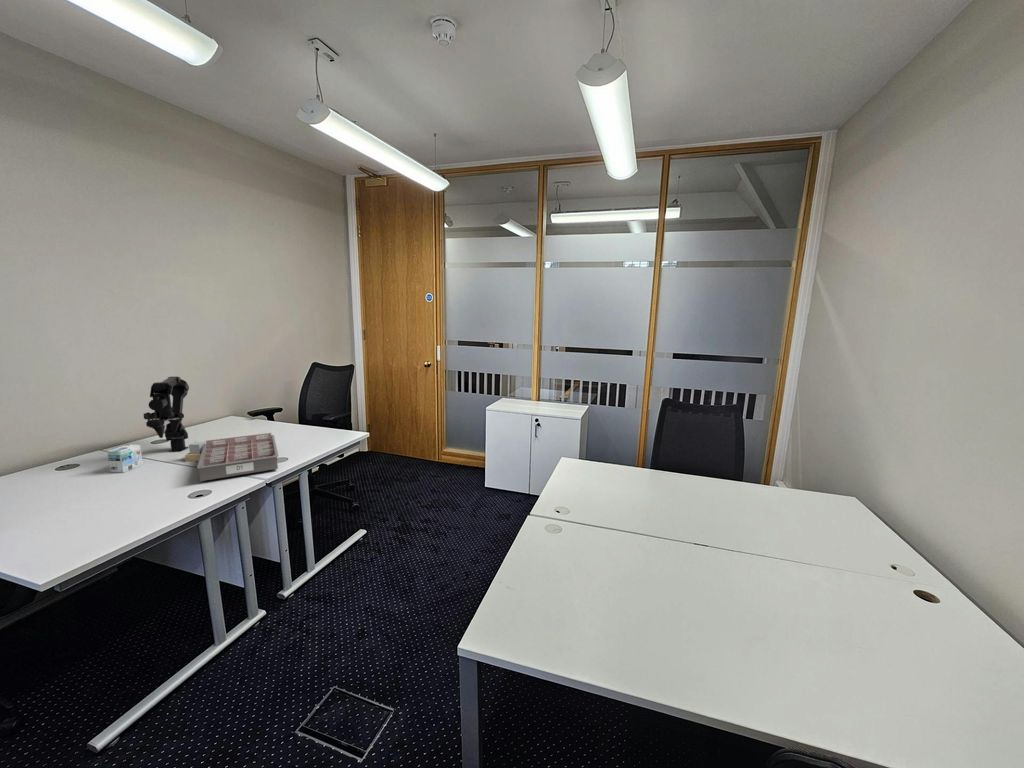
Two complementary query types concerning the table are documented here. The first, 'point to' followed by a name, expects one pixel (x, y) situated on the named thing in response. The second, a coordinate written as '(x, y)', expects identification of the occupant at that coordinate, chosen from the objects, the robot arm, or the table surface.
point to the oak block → (192, 457)
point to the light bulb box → (125, 458)
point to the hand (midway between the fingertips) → (167, 435)
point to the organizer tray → (237, 456)
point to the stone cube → (196, 447)
